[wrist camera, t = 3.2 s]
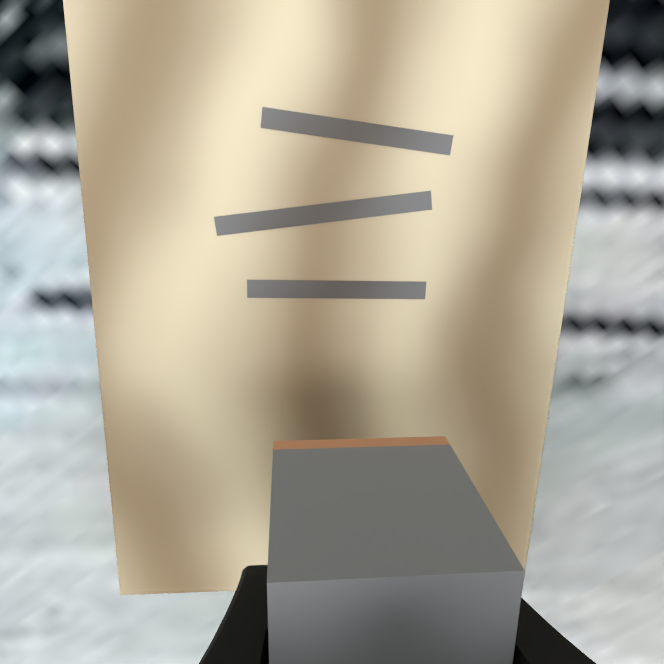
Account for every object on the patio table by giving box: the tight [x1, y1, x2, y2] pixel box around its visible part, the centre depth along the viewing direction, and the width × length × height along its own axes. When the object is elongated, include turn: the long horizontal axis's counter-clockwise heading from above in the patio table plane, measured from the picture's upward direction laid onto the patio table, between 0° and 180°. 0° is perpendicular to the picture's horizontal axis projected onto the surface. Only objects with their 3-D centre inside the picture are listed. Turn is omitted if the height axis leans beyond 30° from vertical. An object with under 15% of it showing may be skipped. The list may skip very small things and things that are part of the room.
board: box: [63, 0, 610, 595], centre depth 19 cm, size 16×26×2 cm, turn 179°
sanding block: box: [267, 436, 525, 664], centre depth 12 cm, size 4×7×4 cm, turn 0°
